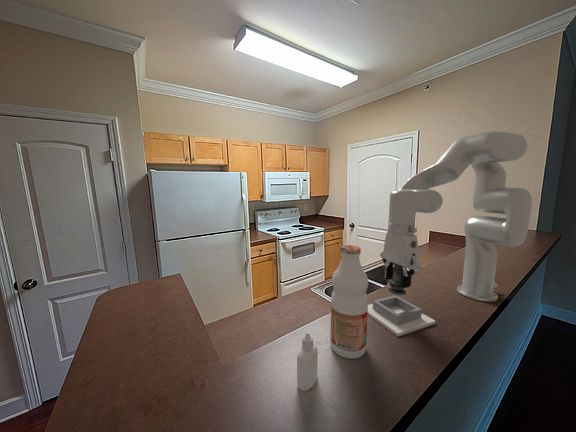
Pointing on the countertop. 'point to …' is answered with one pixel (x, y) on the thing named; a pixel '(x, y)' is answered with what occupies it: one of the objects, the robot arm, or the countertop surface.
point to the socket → (398, 315)
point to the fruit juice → (349, 305)
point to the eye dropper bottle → (307, 363)
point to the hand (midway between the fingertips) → (397, 282)
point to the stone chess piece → (397, 281)
